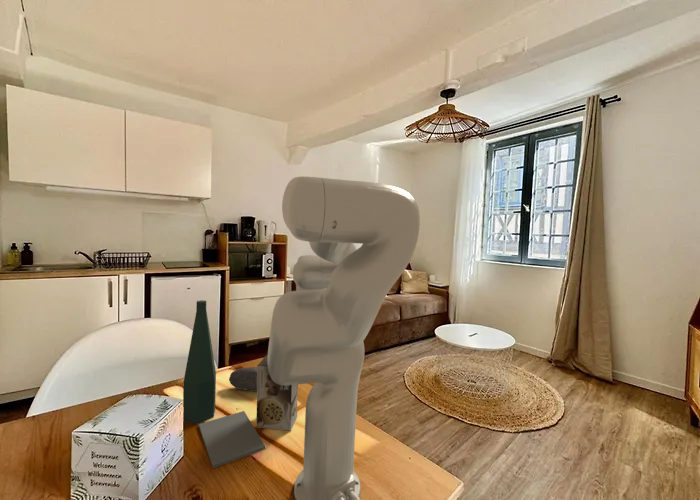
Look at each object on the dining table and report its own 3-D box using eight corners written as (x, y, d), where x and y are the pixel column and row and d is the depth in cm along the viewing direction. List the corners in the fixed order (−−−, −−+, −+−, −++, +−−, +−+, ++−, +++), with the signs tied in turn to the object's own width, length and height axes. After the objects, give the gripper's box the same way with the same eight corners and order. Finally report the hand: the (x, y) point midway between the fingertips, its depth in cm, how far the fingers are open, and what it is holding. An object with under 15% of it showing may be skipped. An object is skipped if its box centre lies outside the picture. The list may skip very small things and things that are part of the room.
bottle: (213, 403, 87) (215, 297, 85) (218, 418, 81) (221, 303, 79) (181, 411, 83) (182, 299, 81) (184, 427, 76) (185, 306, 75)
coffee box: (297, 416, 83) (300, 357, 82) (290, 431, 77) (293, 367, 76) (264, 412, 84) (266, 354, 83) (254, 427, 78) (256, 364, 77)
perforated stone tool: (225, 391, 94) (225, 369, 93) (233, 383, 99) (233, 361, 99) (274, 395, 93) (275, 373, 92) (279, 387, 98) (280, 365, 98)
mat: (265, 448, 71) (265, 446, 71) (213, 468, 64) (213, 465, 64) (244, 413, 84) (244, 410, 84) (198, 426, 77) (198, 424, 77)
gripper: (289, 308, 76) (286, 381, 77) (341, 302, 84) (338, 369, 86) (277, 301, 82) (275, 370, 83) (327, 297, 91) (324, 359, 92)
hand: (307, 369), depth 84 cm, fingers closed
